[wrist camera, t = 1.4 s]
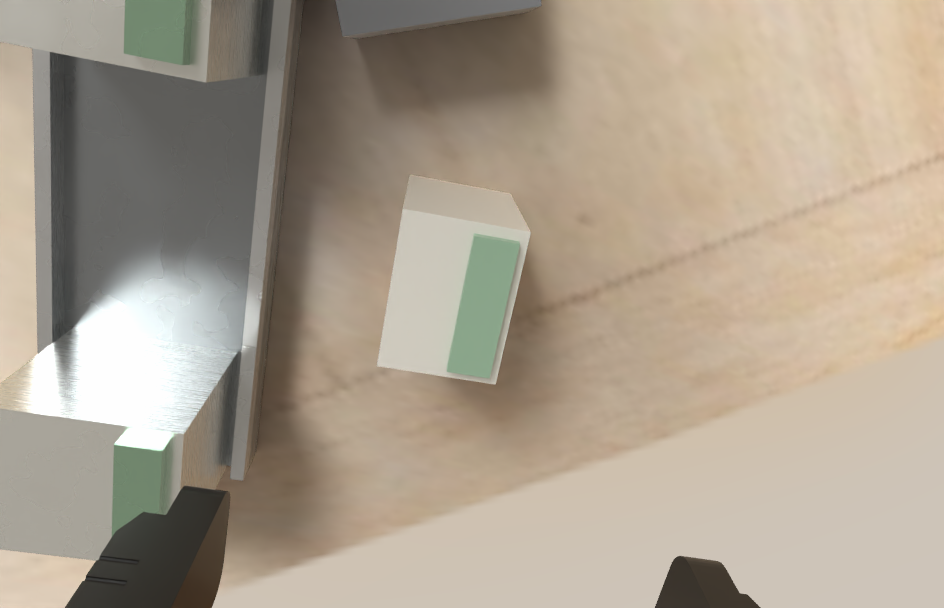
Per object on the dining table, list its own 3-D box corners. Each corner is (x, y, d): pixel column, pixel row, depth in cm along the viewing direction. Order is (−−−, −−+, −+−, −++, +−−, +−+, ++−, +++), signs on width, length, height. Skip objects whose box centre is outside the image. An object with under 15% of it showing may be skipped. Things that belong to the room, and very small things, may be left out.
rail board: (66, -140, 25) (-123, -238, 17) (312, -83, 26) (254, -149, 18) (67, 425, 33) (-61, 554, 25) (256, 451, 34) (196, 584, 26)
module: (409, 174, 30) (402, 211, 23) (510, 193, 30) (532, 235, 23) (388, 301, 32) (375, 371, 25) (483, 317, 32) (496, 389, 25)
